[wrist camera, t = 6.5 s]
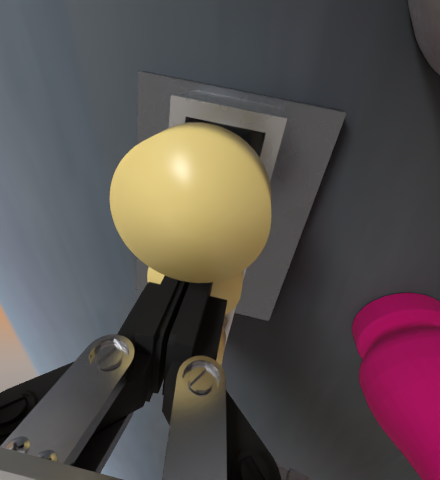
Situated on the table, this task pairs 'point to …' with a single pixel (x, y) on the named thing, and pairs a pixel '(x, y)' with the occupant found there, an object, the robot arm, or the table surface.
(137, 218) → the knob
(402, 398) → the pepper mill
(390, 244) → the table surface
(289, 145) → the mount plate
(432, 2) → the pillar candle
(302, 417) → the table surface
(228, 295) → the knob
